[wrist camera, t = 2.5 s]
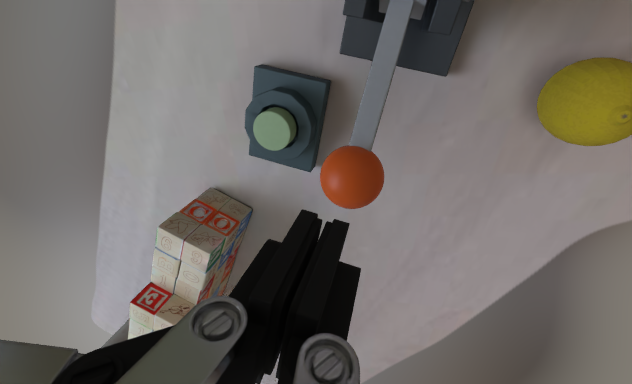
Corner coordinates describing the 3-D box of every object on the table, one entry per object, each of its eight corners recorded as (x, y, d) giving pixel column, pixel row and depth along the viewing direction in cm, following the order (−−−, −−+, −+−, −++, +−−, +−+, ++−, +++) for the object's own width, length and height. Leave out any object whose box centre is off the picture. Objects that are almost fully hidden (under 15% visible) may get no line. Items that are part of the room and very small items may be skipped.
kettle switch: (373, 212, 17) (374, 221, 14) (318, 196, 17) (307, 201, 14) (445, -30, 16) (464, -82, 12) (384, -40, 16) (387, -92, 13)
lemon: (627, 61, 22) (722, 76, 15) (580, 133, 25) (644, 173, 18) (545, 46, 23) (602, 53, 16) (509, 117, 26) (545, 149, 19)
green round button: (262, 102, 28) (254, 106, 26) (299, 112, 27) (293, 116, 26) (259, 139, 30) (251, 145, 28) (294, 149, 29) (287, 155, 28)
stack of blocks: (210, 184, 38) (133, 244, 27) (254, 208, 38) (193, 276, 27) (185, 287, 49) (124, 357, 39) (219, 305, 49) (166, 380, 38)
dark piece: (261, 64, 29) (244, 68, 26) (331, 80, 28) (321, 86, 25) (255, 149, 34) (240, 161, 31) (315, 166, 33) (305, 179, 30)
